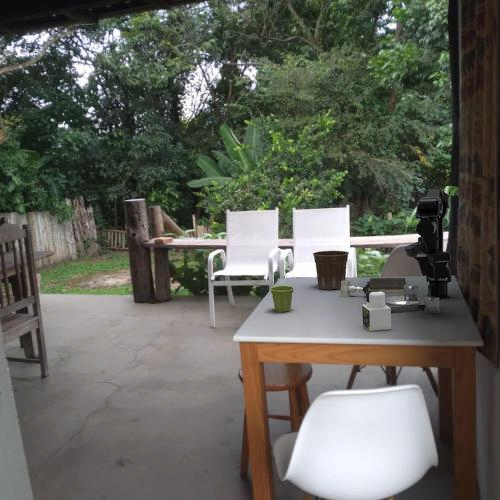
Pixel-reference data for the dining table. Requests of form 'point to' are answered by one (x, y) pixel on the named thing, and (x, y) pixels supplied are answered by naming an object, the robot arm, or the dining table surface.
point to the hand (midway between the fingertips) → (430, 278)
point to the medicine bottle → (376, 311)
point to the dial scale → (403, 304)
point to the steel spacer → (431, 304)
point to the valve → (352, 288)
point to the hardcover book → (388, 284)
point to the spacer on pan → (411, 292)
